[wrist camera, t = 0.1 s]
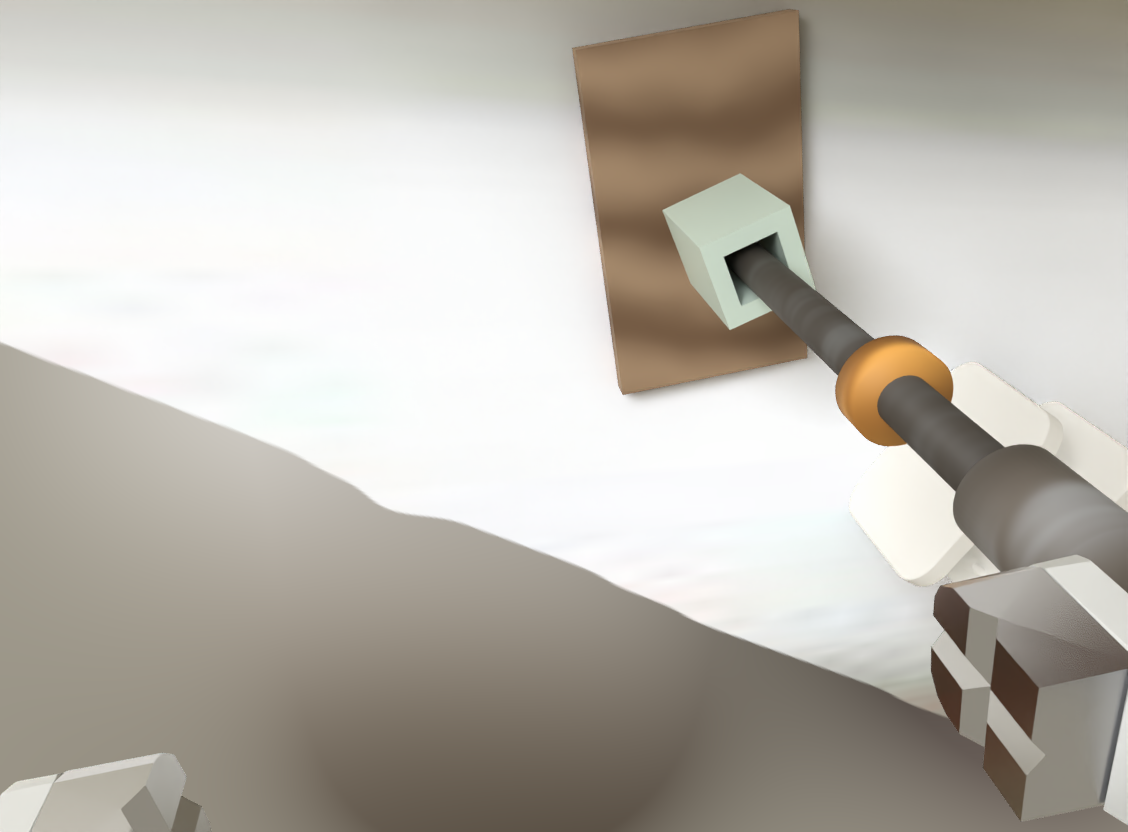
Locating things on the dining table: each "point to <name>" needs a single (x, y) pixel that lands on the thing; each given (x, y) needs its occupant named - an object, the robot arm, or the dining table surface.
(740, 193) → the sleeve
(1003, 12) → the dining table surface
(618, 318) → the stand
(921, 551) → the cable organizer
